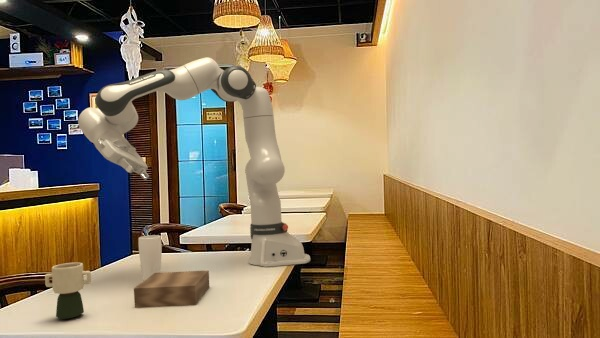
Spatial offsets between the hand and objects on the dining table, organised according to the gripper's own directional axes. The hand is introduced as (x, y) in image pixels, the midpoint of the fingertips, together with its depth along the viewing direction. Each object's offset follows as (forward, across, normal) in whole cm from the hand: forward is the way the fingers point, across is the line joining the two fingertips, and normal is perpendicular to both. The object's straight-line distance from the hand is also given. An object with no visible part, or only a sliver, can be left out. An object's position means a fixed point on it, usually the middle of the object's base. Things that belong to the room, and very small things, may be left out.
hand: (139, 174), depth 154 cm
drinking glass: (+27, +6, +22) cm, 35 cm away
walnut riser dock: (+38, -6, +14) cm, 41 cm away
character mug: (+28, -24, +31) cm, 48 cm away
